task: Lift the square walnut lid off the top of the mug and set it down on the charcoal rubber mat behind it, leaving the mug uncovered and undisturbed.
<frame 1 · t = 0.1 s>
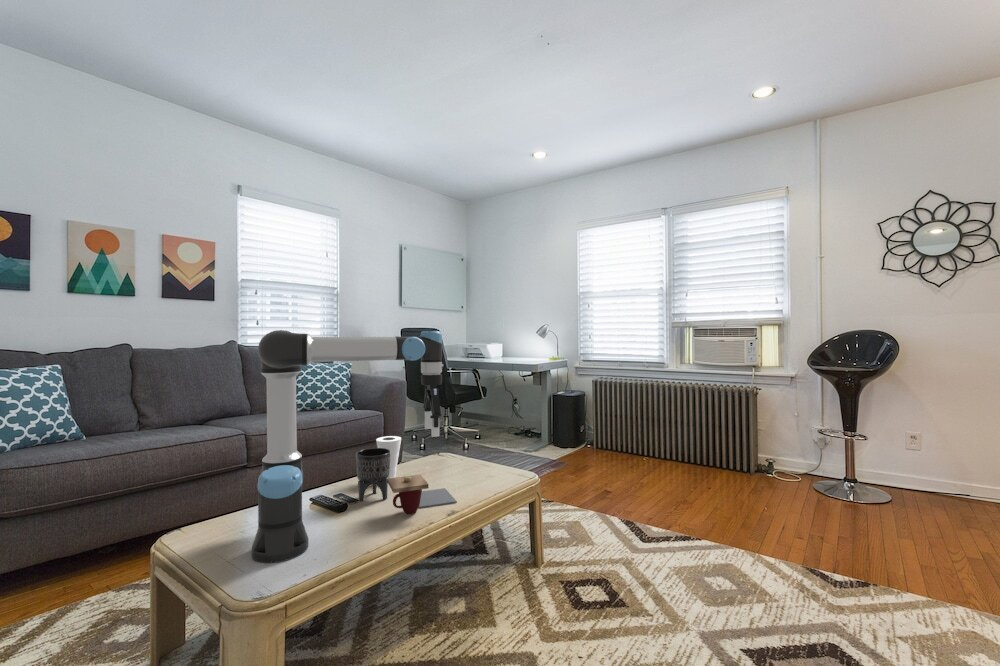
hand: (431, 432, 167), 28 cm above the table, fingers open, 13 cm apart
planter: (373, 498, 179), on the table
mat: (433, 498, 178), on the table
paper towel roll: (389, 480, 200), on the table
lid: (407, 485, 163), point 10 cm above the table, touching mug
mug: (407, 513, 163), on the table, touching lid
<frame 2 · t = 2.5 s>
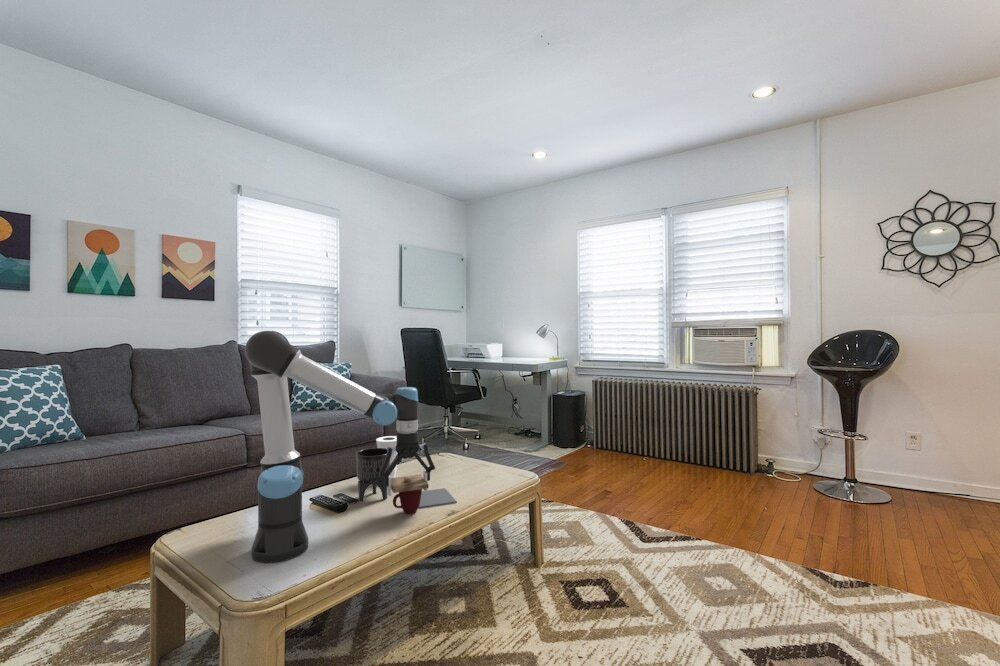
hand: (407, 492, 163), 7 cm above the table, fingers closed on lid, 12 cm apart
lid: (407, 485, 163), point 10 cm above the table, touching gripper, mug
everything else where it was.
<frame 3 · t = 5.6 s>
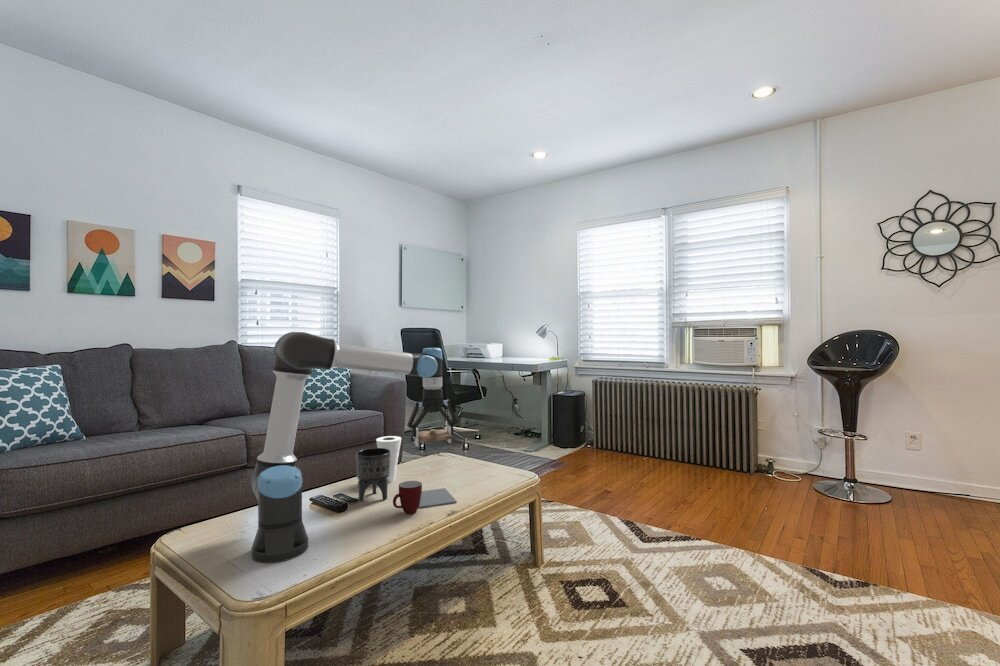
hand: (433, 444, 178), 21 cm above the table, fingers closed on lid, 12 cm apart
lid: (433, 437, 178), point 24 cm above the table, touching gripper
mug: (407, 513, 163), on the table
everything else where it was.
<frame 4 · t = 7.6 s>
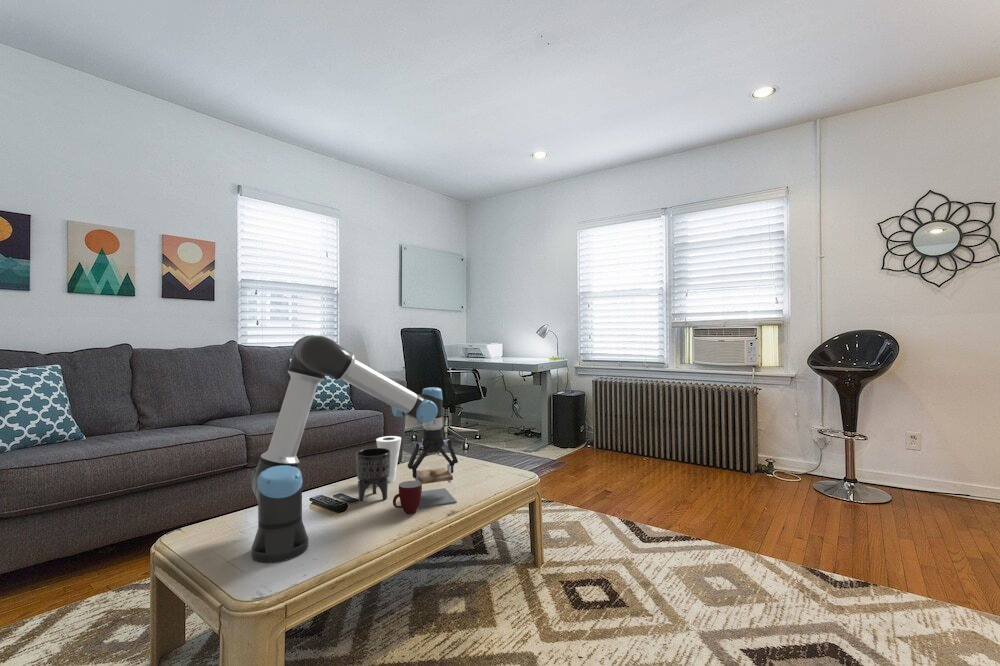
hand: (433, 484, 178), 6 cm above the table, fingers closed on lid, 12 cm apart
lid: (433, 477, 178), point 8 cm above the table, touching gripper
everything else where it was.
when the fingers open (3 cm above the table, at t = 8.9 s): lid drops 5 cm, resting on mat.
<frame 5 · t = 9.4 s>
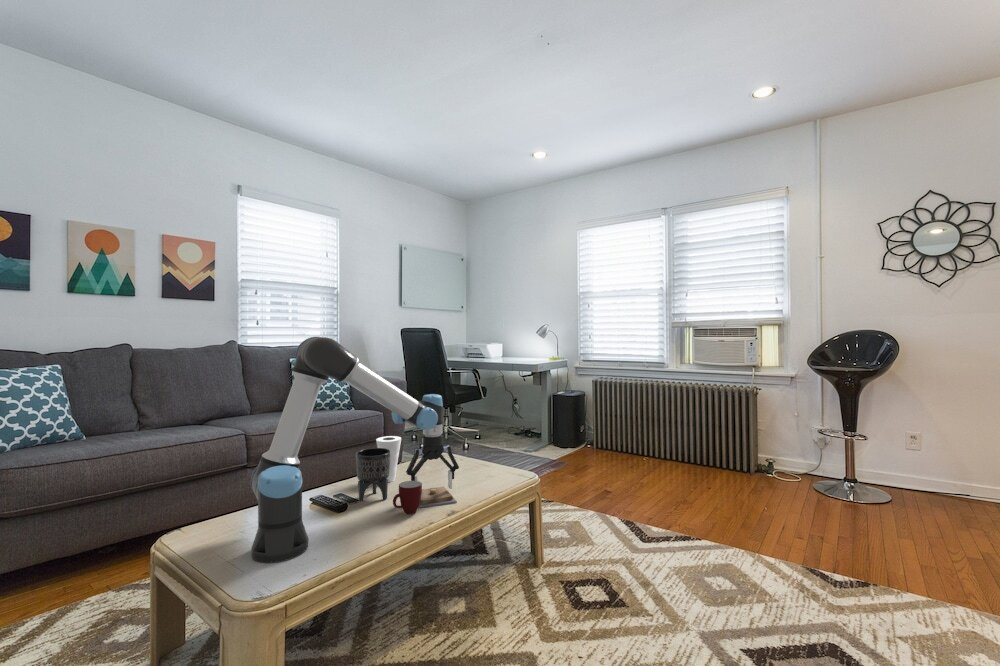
hand: (433, 490, 178), 3 cm above the table, fingers open, 13 cm apart
lid: (433, 496, 178), point 1 cm above the table, touching mat
everything else where it was.
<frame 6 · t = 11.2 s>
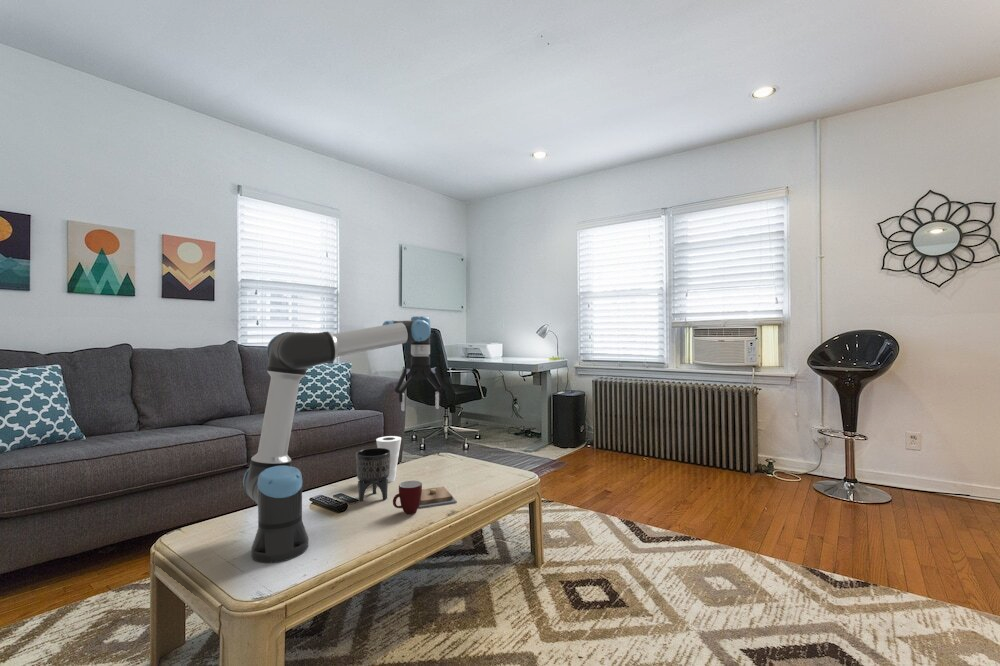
hand: (420, 409, 182), 34 cm above the table, fingers open, 13 cm apart
nothing on the table moved.
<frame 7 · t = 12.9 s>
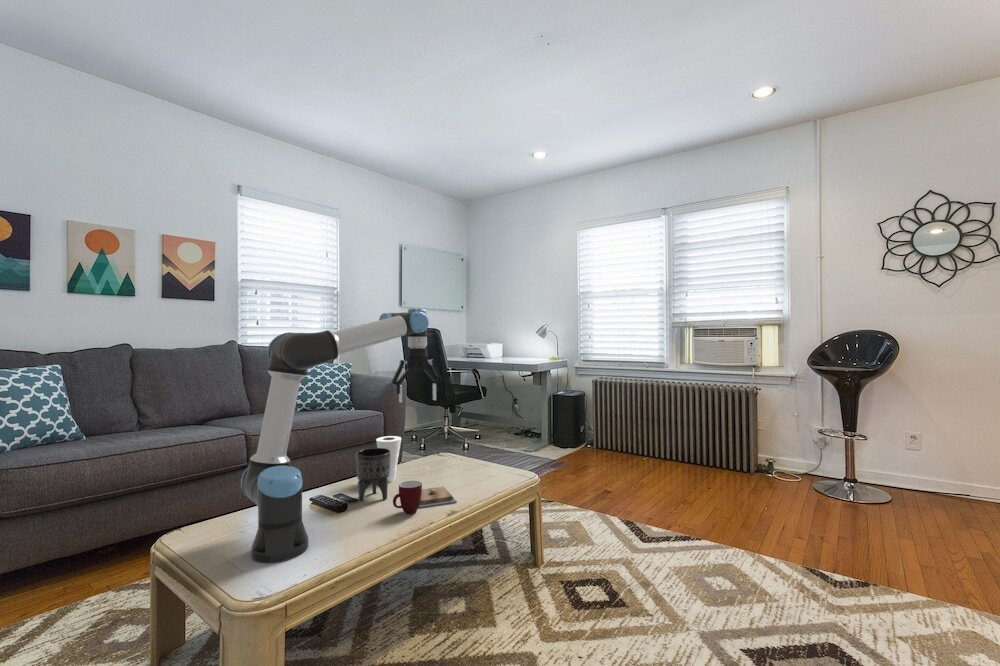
hand: (417, 401, 184), 37 cm above the table, fingers open, 13 cm apart
nothing on the table moved.
at the end: lid inside the target area on the mat (0.0 cm from its centre), point 0.6 cm above the mat's base; lid tilted 0°; mug moved 0.2 cm from its start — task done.
